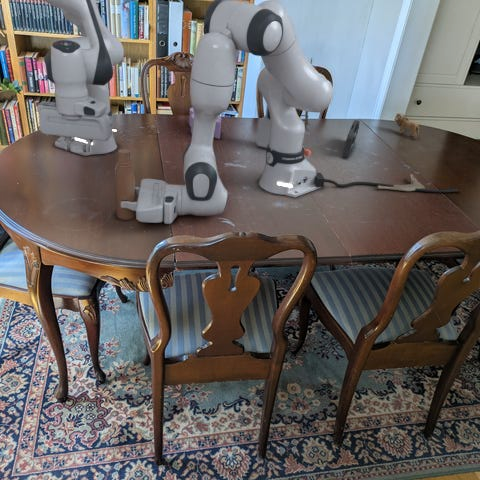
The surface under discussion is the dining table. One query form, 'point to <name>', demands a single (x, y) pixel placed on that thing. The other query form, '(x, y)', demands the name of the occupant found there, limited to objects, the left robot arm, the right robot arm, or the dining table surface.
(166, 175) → the dining table surface
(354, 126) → the handheld gaming console
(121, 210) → the bottle
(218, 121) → the clip
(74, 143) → the cap
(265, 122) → the electronic device
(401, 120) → the lion figurine
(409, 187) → the jawbone
